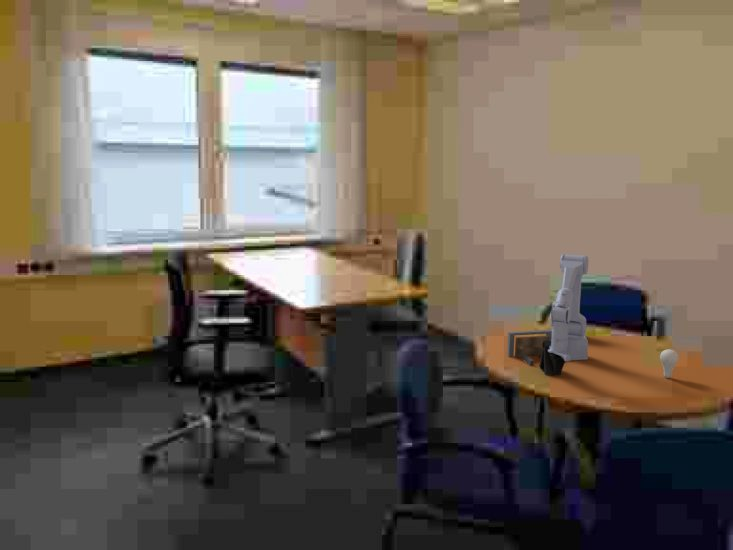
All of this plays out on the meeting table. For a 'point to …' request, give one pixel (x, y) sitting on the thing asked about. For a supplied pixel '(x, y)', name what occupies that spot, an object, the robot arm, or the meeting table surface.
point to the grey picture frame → (511, 334)
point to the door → (529, 345)
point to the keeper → (527, 359)
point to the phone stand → (546, 360)
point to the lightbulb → (668, 361)
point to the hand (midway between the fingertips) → (557, 373)
